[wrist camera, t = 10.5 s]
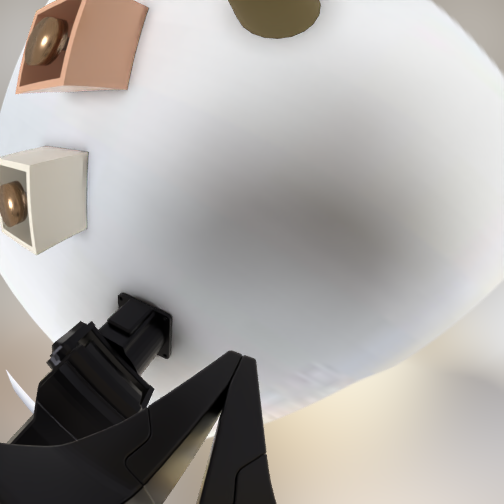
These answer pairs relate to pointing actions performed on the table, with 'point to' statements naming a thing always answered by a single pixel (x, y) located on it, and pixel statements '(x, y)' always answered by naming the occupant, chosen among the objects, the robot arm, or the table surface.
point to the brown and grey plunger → (46, 41)
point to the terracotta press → (88, 47)
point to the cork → (276, 16)
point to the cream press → (47, 195)
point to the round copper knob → (13, 203)
